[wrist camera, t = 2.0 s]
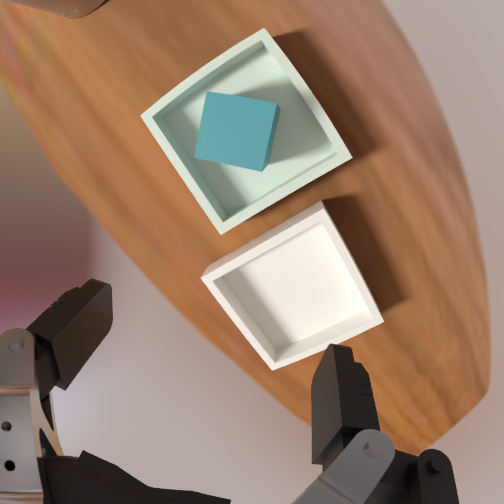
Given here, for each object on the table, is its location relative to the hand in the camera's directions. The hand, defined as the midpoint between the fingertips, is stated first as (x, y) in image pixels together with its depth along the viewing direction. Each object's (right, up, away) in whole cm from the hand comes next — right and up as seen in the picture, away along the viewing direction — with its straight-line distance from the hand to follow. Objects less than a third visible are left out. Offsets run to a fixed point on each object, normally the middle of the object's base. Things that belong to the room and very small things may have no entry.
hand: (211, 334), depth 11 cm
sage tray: (+1, +13, +15) cm, 20 cm away
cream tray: (+6, -1, +20) cm, 21 cm away
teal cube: (+1, +13, +15) cm, 20 cm away
